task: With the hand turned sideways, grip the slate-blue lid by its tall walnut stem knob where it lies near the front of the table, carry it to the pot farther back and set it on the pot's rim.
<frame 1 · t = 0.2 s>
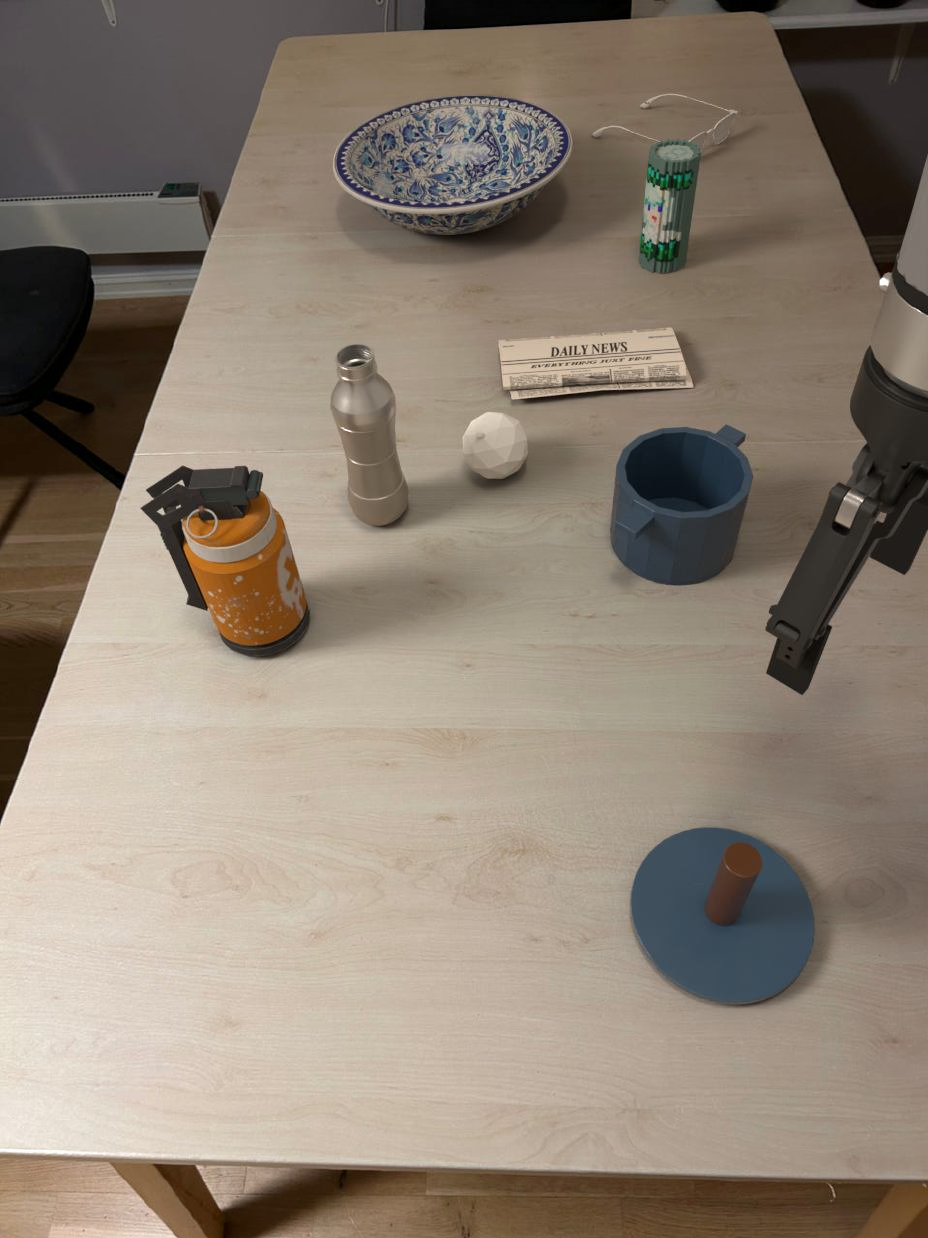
hand: (840, 619, 64), 20 cm above the table, tool pointing down, fingers open, 13 cm apart
ornament: (496, 470, 104), on the table
eyeglasses: (661, 137, 152), on the table
pot: (672, 538, 96), on the table
newspaper: (593, 370, 115), on the table
lid: (720, 912, 71), point 1 cm above the table
metal water bottle: (381, 512, 101), on the table
canister: (255, 625, 92), on the table
ceramic bowl: (455, 212, 140), on the table
can: (661, 262, 129), on the table
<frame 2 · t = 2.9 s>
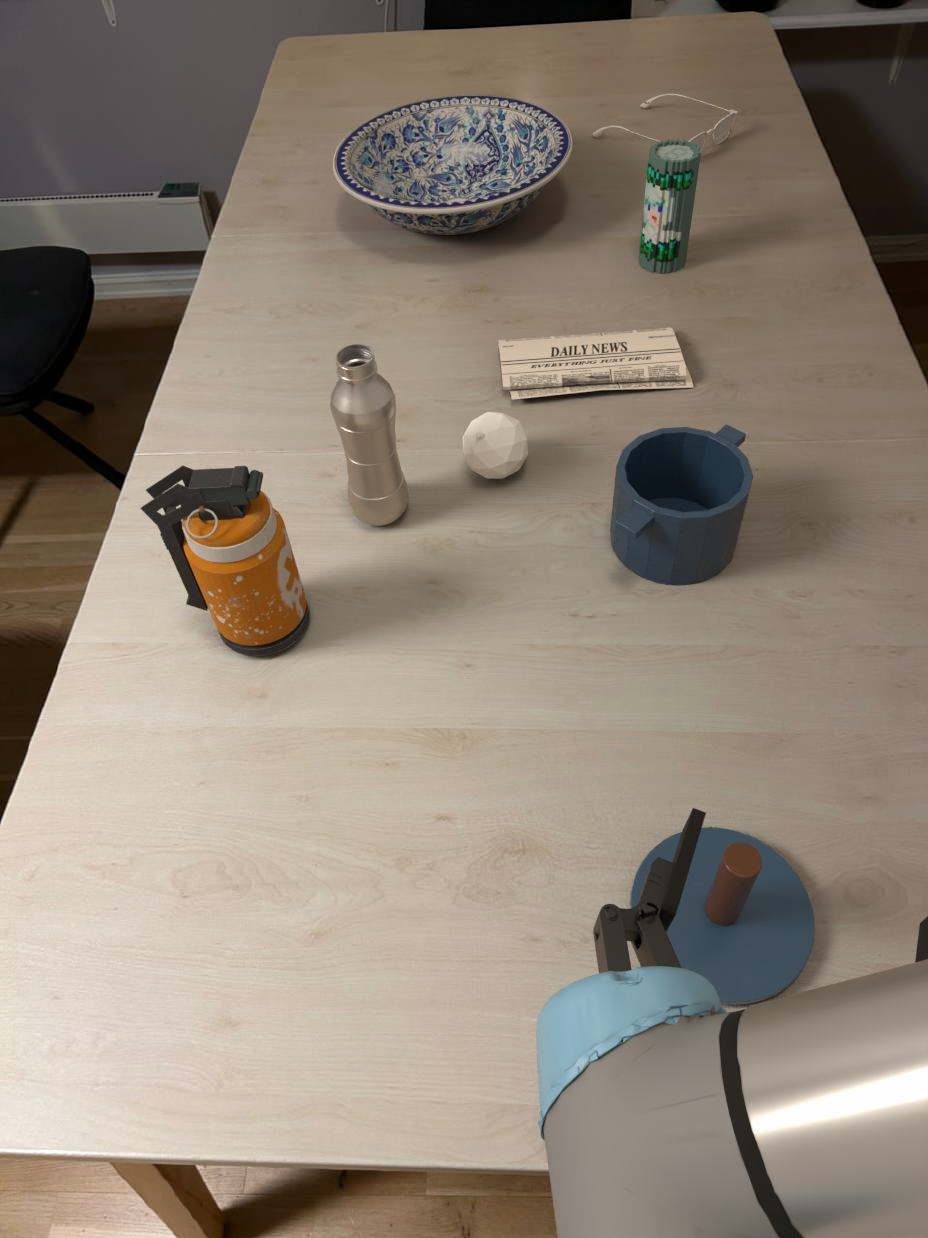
hand: (812, 866, 52), 21 cm above the table, tool horizontal, fingers open, 13 cm apart
nothing on the table moved.
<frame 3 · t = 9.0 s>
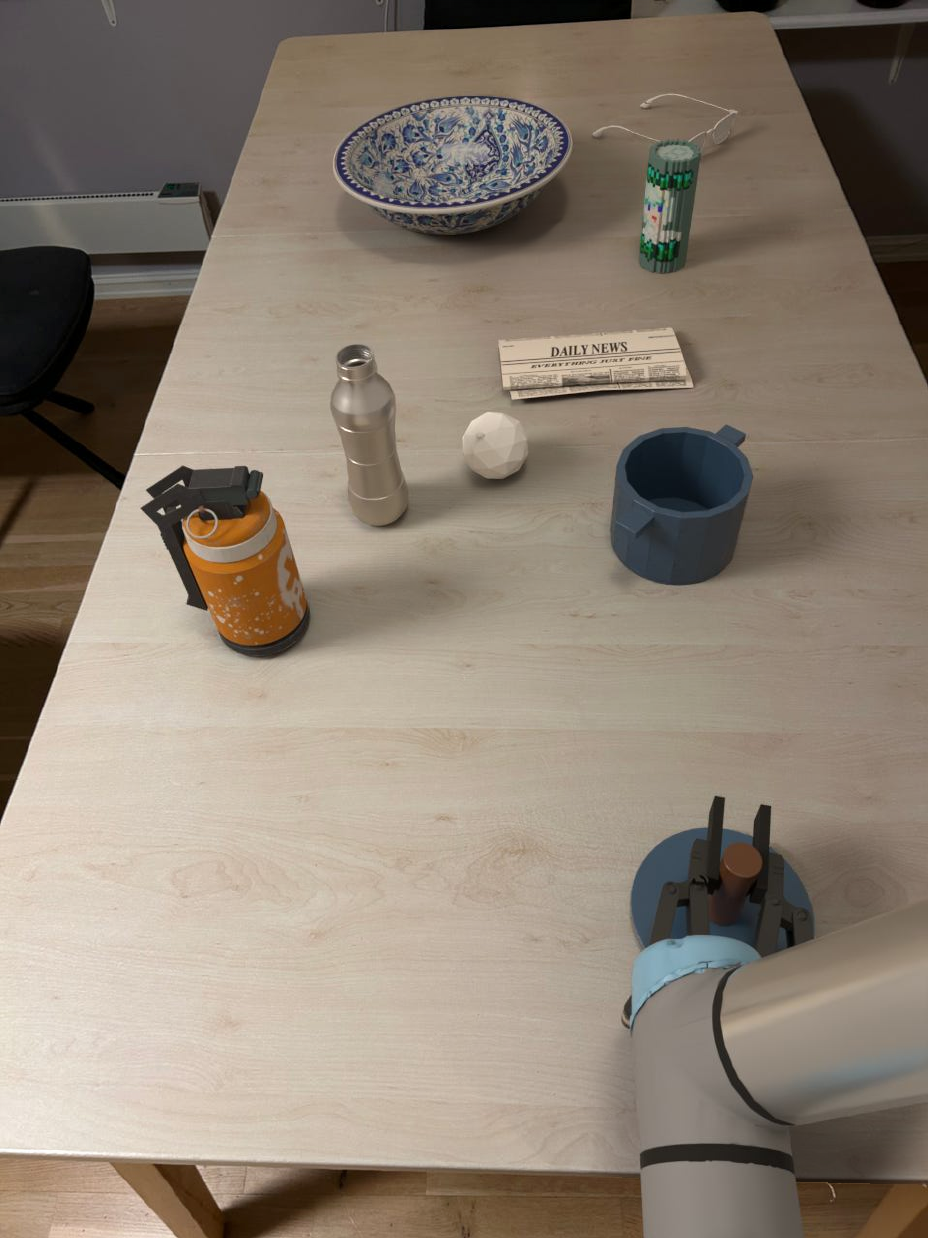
hand: (739, 809, 69), 7 cm above the table, tool horizontal, fingers closed on lid, 3 cm apart
lid: (720, 912, 71), point 1 cm above the table, touching gripper
everything else where it was.
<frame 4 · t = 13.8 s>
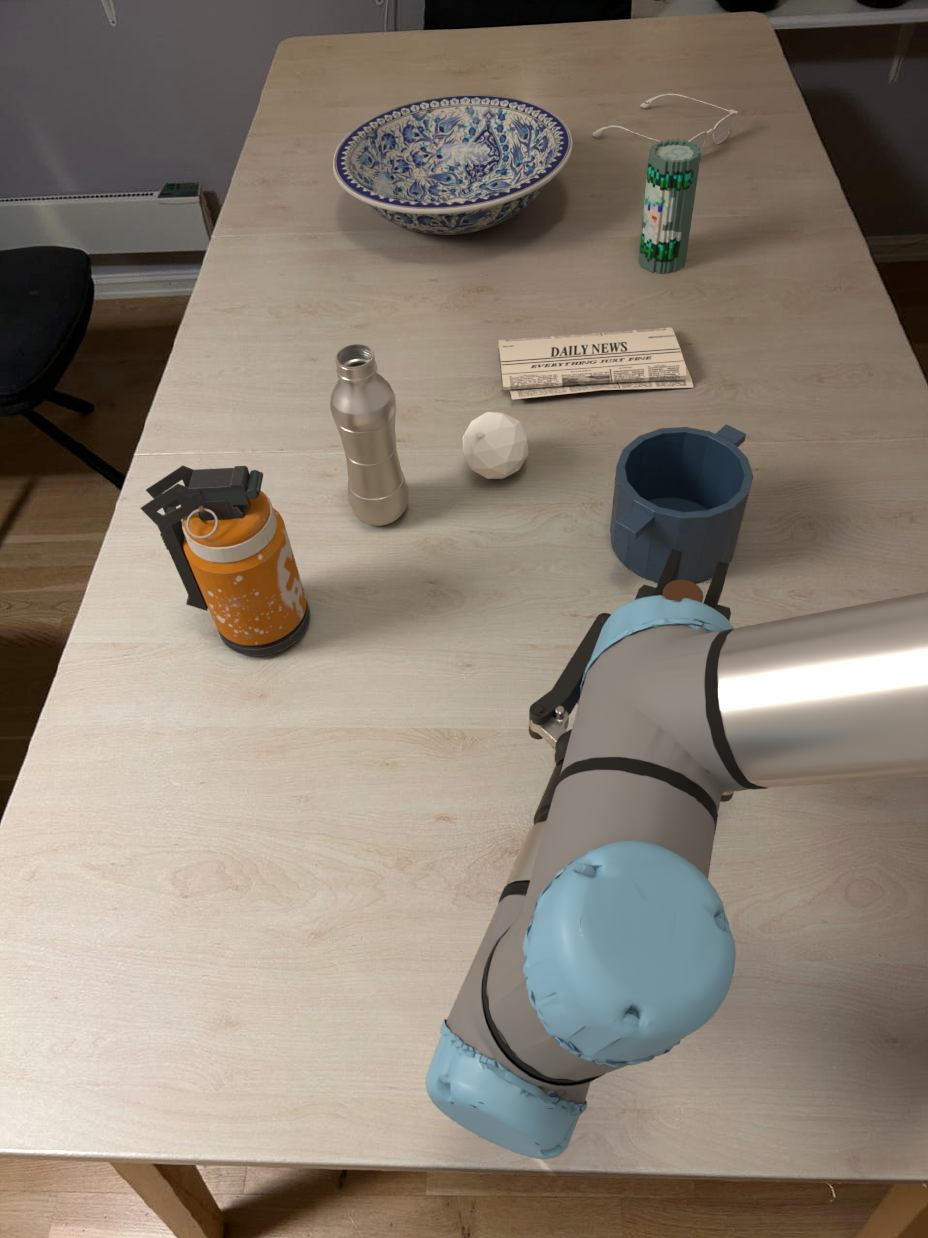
hand: (697, 570, 66), 21 cm above the table, tool horizontal, fingers closed on lid, 3 cm apart
lid: (664, 681, 68), point 14 cm above the table, touching gripper
everything else where it was.
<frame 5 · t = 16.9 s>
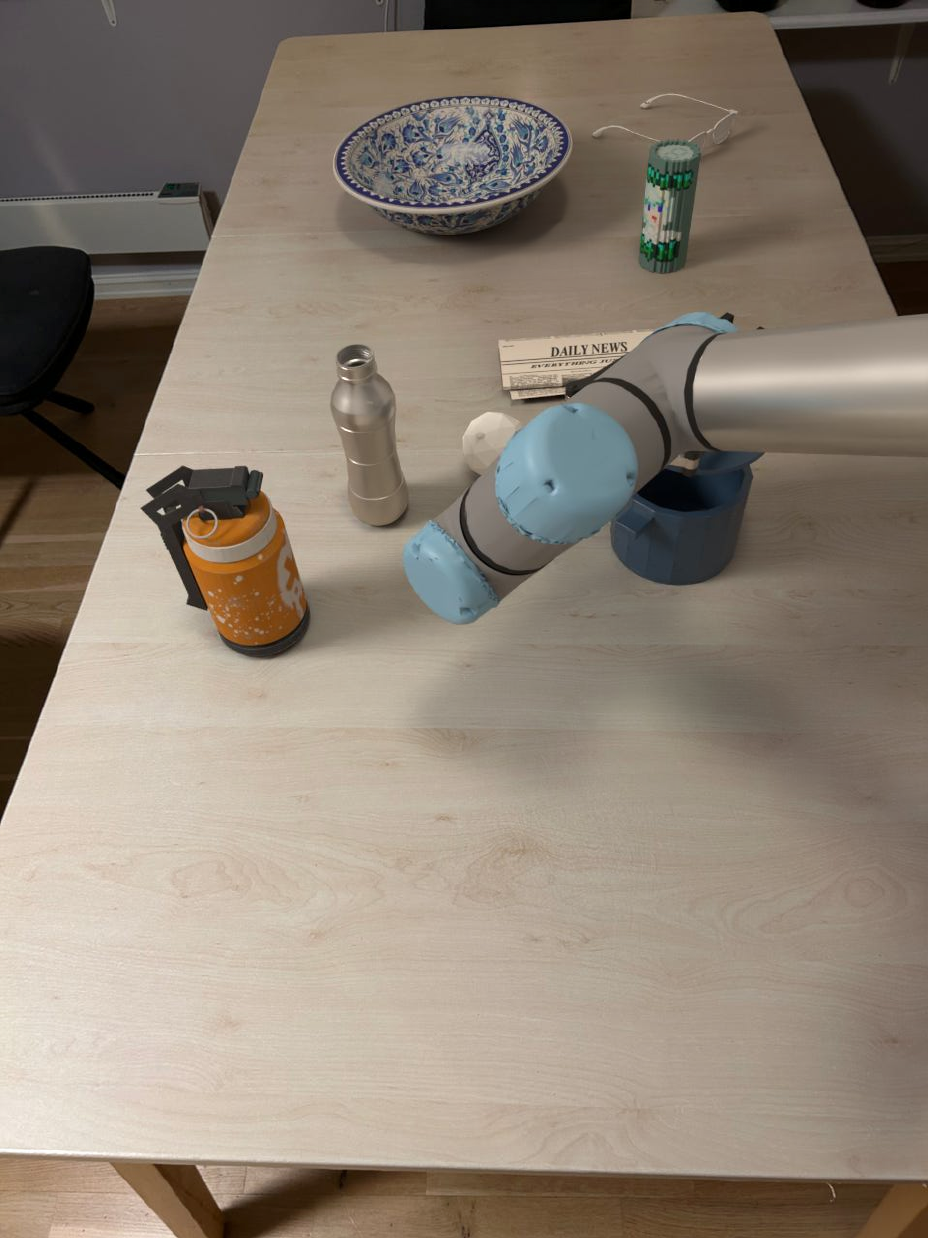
hand: (743, 334, 81), 22 cm above the table, tool horizontal, fingers closed on lid, 3 cm apart
lid: (696, 423, 84), point 15 cm above the table, touching gripper
everything else where it was.
when the fingers open (16 cm above the table, at t = 18.8 s): lid stays where it is, resting on pot.
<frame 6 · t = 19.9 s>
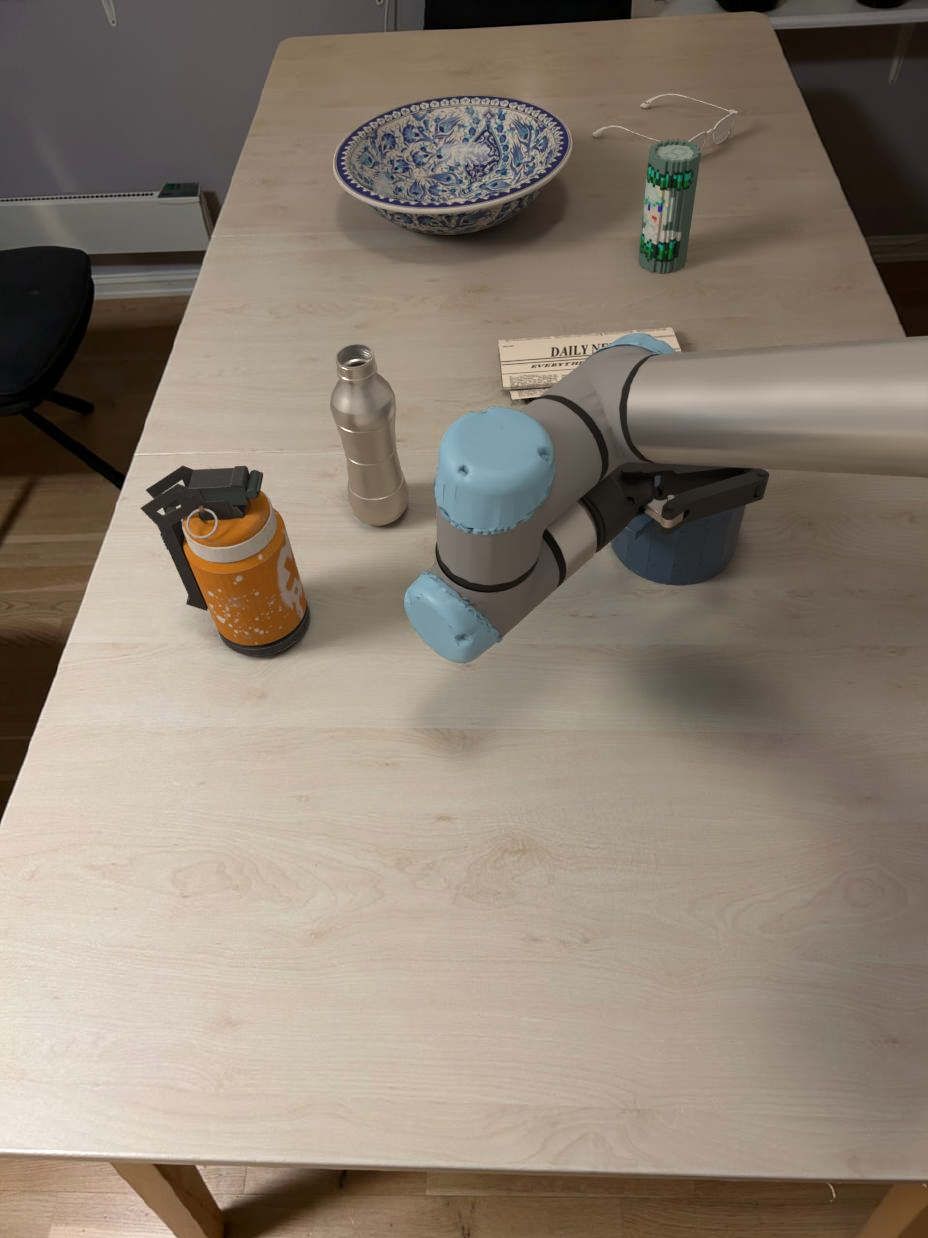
hand: (716, 392, 85), 17 cm above the table, tool horizontal, fingers open, 13 cm apart
lid: (683, 470, 89), point 9 cm above the table, touching pot
everything else where it was.
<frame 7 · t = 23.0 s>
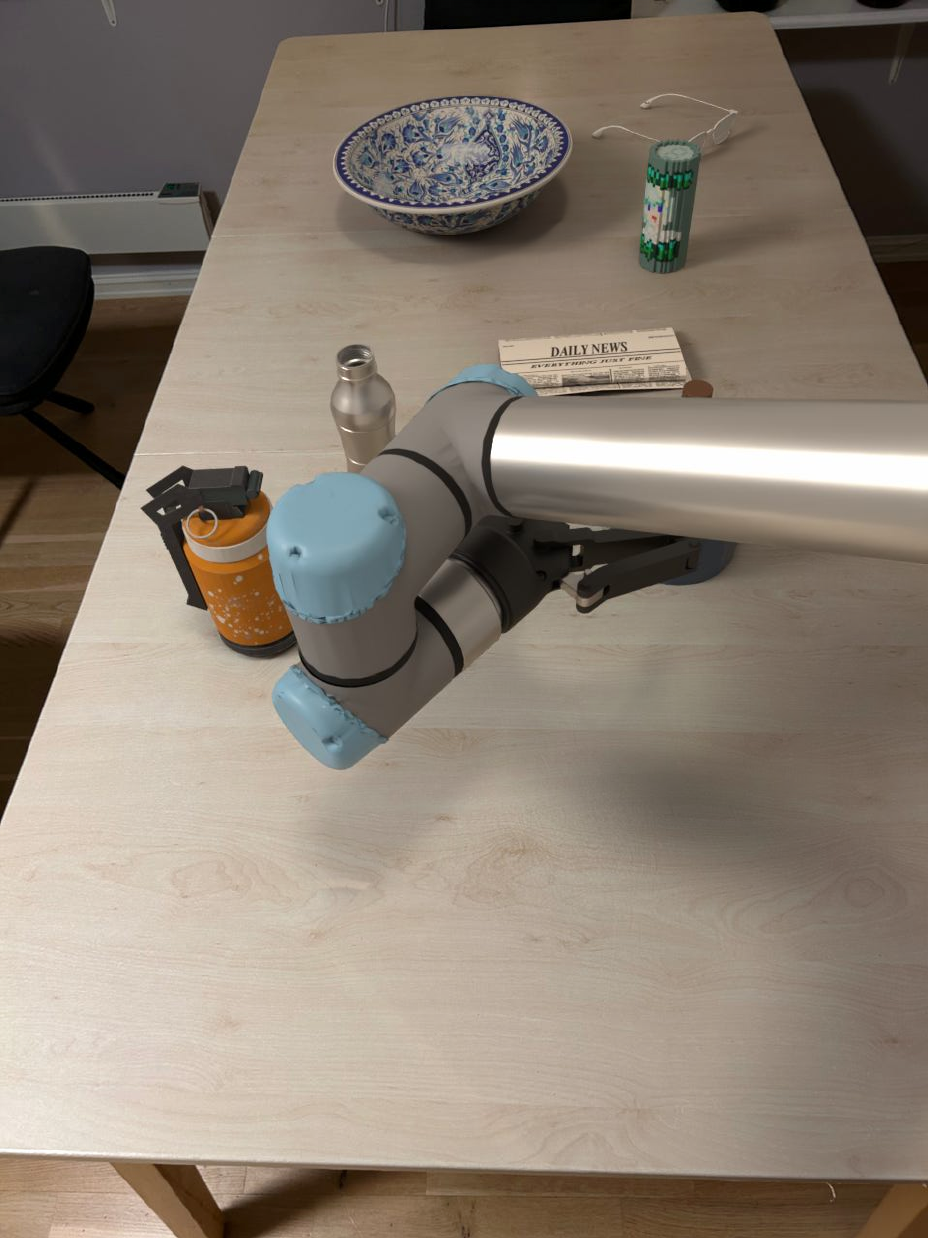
hand: (650, 443, 75), 21 cm above the table, tool horizontal, fingers open, 13 cm apart
nothing on the table moved.
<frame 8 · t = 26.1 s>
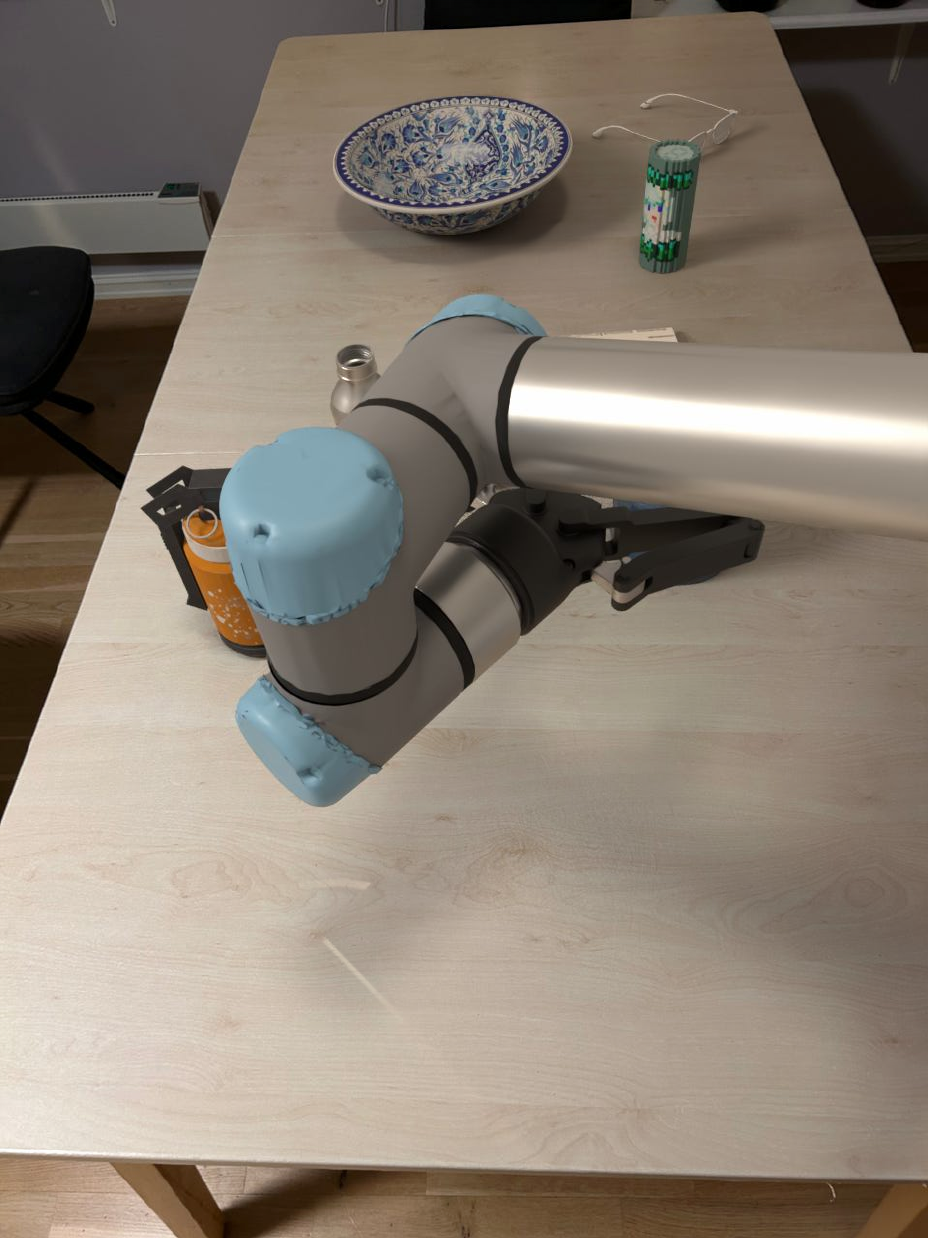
hand: (694, 409, 63), 30 cm above the table, tool horizontal, fingers open, 13 cm apart
nothing on the table moved.
at the end: lid 0.0 cm off-centre on the pot, point 9.5 cm above the pot's base; lid tilted 0°; the gripper is holding nothing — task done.
